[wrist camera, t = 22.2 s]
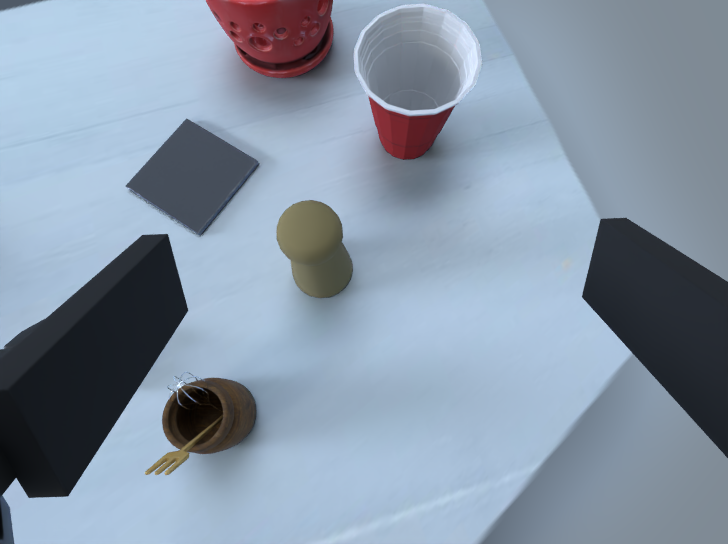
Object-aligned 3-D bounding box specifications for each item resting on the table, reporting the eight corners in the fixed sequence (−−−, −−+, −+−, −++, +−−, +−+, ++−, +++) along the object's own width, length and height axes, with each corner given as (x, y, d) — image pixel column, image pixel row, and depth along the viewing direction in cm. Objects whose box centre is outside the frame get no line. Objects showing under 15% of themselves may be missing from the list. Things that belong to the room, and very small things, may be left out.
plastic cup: (349, 176, 45) (343, 100, 34) (364, 93, 48) (362, -3, 37) (451, 188, 45) (479, 115, 33) (459, 103, 48) (487, 9, 36)
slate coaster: (259, 163, 46) (257, 160, 45) (200, 235, 44) (198, 233, 43) (188, 121, 48) (186, 118, 47) (128, 188, 45) (125, 186, 45)
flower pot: (240, 1, 53) (205, -110, 41) (345, 9, 52) (338, -102, 41) (218, 88, 49) (172, -8, 38) (331, 97, 48) (319, 2, 37)
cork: (350, 300, 41) (343, 265, 31) (288, 295, 42) (261, 259, 31) (355, 242, 43) (350, 190, 33) (296, 238, 43) (272, 185, 33)
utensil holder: (260, 379, 39) (215, 369, 28) (255, 453, 37) (204, 475, 26) (197, 379, 39) (126, 369, 28) (188, 452, 37) (108, 474, 26)
